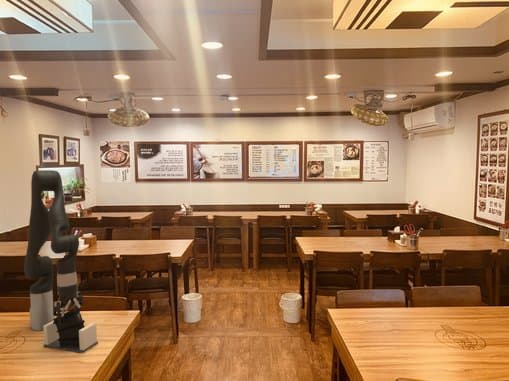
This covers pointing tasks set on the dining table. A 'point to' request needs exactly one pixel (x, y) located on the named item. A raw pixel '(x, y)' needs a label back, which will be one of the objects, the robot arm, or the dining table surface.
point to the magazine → (70, 327)
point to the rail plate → (67, 346)
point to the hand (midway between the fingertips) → (69, 320)
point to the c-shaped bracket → (85, 335)
